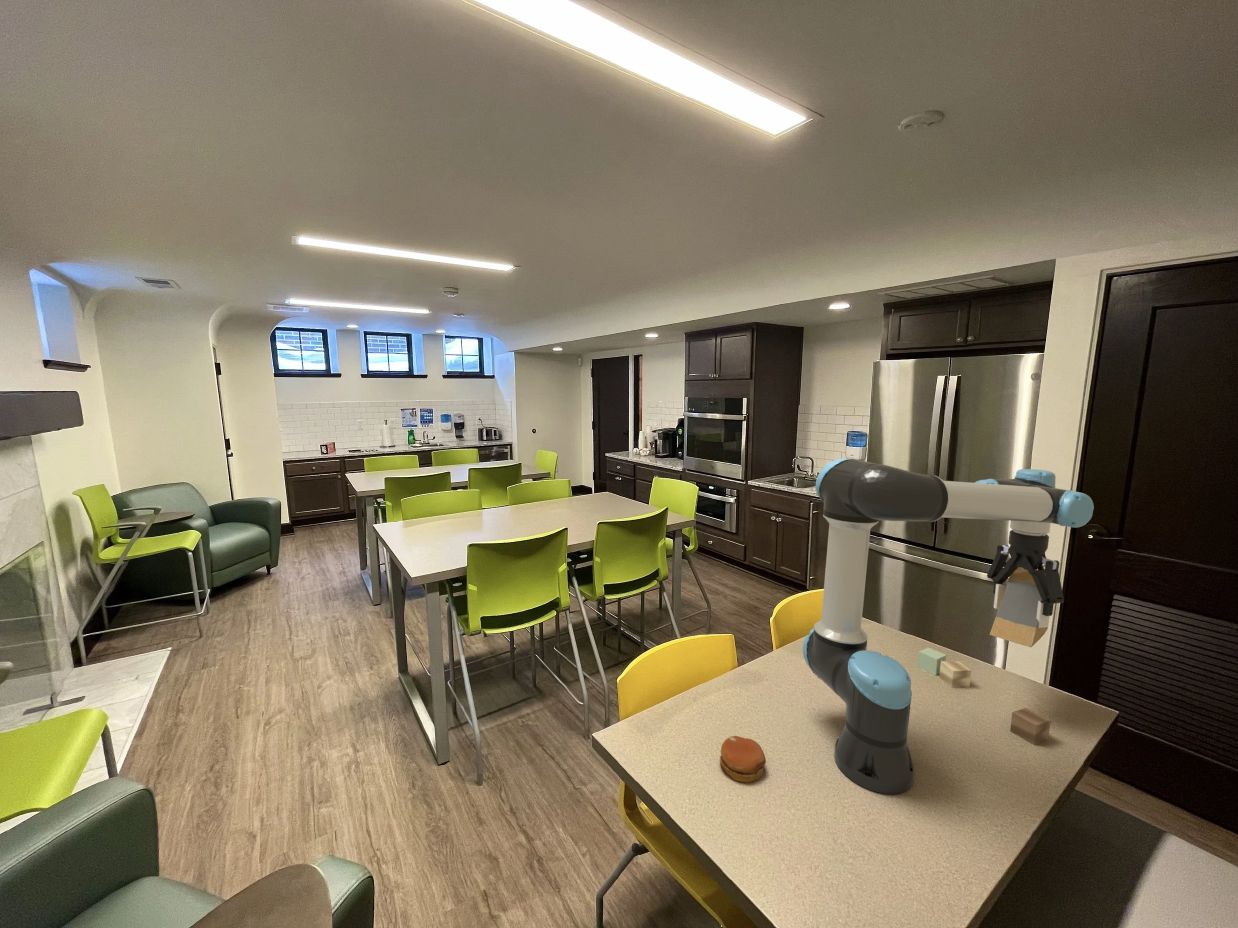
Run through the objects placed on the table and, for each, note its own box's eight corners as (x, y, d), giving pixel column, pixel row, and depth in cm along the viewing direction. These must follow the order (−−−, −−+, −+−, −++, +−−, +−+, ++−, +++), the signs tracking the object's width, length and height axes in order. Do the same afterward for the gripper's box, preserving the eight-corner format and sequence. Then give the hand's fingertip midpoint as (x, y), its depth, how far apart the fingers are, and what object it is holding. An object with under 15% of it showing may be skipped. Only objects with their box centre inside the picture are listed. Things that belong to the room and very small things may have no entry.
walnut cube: (1033, 745, 111) (1036, 725, 110) (1010, 731, 115) (1012, 711, 115) (1048, 740, 112) (1050, 720, 112) (1024, 726, 117) (1026, 707, 116)
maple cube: (951, 687, 133) (953, 670, 132) (939, 677, 138) (940, 660, 137) (969, 687, 133) (971, 670, 133) (956, 677, 138) (958, 660, 138)
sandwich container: (987, 634, 121) (993, 576, 119) (1007, 617, 130) (1012, 563, 128) (1031, 648, 114) (1038, 587, 112) (1049, 629, 123) (1055, 572, 121)
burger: (749, 791, 98) (750, 769, 97) (710, 767, 104) (711, 747, 104) (773, 765, 105) (774, 745, 104) (735, 744, 111) (736, 725, 111)
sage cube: (935, 675, 139) (936, 659, 138) (917, 667, 143) (918, 651, 143) (944, 670, 141) (946, 654, 141) (927, 662, 146) (928, 647, 145)
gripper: (1093, 544, 109) (1081, 637, 112) (999, 520, 132) (991, 598, 135) (1065, 545, 108) (1053, 639, 111) (975, 521, 131) (967, 599, 133)
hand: (1019, 616), depth 123 cm, fingers closed on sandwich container, 10 cm apart
